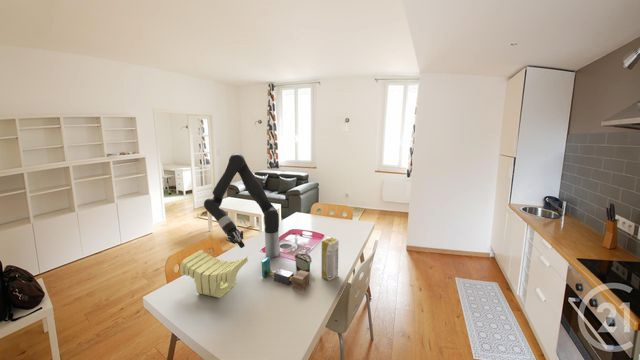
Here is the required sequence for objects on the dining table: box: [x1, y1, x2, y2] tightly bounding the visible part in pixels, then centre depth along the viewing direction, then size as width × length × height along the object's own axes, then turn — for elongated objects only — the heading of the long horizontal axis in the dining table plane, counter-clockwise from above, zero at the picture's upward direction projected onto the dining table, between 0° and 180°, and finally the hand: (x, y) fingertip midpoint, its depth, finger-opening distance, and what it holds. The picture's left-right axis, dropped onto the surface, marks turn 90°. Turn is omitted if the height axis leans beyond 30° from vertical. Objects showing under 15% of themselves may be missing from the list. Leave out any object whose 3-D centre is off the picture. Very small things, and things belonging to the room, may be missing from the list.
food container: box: [294, 253, 313, 273], centre depth 165 cm, size 12×6×10 cm, turn 47°
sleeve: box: [273, 268, 295, 286], centre depth 155 cm, size 5×10×5 cm, turn 63°
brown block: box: [292, 270, 311, 292], centre depth 150 cm, size 8×6×7 cm
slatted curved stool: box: [179, 249, 248, 298], centre depth 145 cm, size 30×16×18 cm, turn 73°
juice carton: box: [320, 236, 340, 282], centre depth 158 cm, size 9×8×24 cm
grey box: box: [261, 256, 293, 283], centre depth 156 cm, size 6×20×10 cm, turn 64°
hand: (243, 247), depth 165 cm, fingers closed
